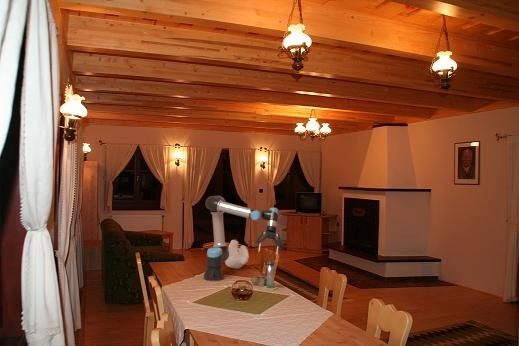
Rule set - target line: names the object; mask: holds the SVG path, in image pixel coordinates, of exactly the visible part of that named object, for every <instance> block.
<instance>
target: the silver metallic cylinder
mask: <svg viewBox="0 0 519 346" xmlns="http://www.w3.org/2000/svg"><path fill="white" fill-rule="evenodd" d="M265 264H266V277H267V282H266V288H274V286H275V285H274V283H275V282H274V280H275V279H274V278H275V265H276V261H271V260H270V261H266V262H265Z"/></svg>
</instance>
